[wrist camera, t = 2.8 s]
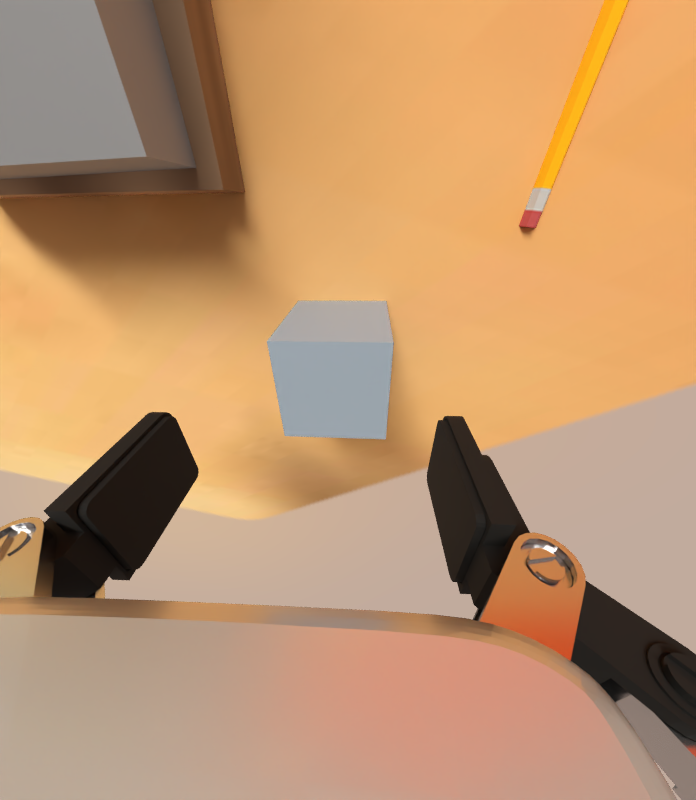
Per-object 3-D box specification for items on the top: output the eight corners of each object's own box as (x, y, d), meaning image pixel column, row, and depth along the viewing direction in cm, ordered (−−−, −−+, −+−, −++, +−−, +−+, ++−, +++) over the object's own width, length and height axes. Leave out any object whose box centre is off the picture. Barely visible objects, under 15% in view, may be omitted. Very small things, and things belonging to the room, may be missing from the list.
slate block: (386, 300, 16) (393, 342, 11) (381, 378, 19) (385, 439, 14) (298, 300, 16) (267, 341, 11) (307, 376, 19) (284, 435, 14)
